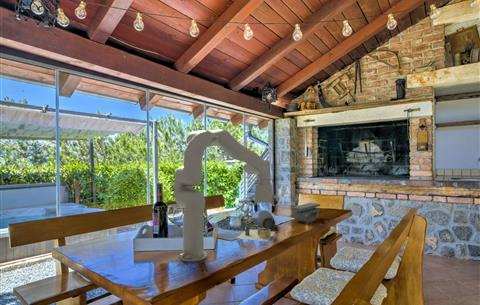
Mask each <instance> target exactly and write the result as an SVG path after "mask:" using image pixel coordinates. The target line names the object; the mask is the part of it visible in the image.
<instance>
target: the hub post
mask: <svg viewBox="0 0 480 305" xmlns="http://www.w3.org/2000/svg"><path fill="white" fill-rule="evenodd" d="M244 231H245V235H247V236H248V235H250V226H249V225H245V227H244Z"/></svg>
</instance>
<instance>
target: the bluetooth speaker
mask: <svg viewBox="0 0 480 305" xmlns="http://www.w3.org/2000/svg"><path fill="white" fill-rule="evenodd" d="M274 218H275V217H274V216H273V215H272V213H270V212H269V211H268V210H261V211H259V212H258V216H257V219H258V221H259V224H260V226H261V228H269V229H271V231H274V229H275V227H276V220H275V219H274Z"/></svg>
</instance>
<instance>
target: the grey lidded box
mask: <svg viewBox="0 0 480 305" xmlns="http://www.w3.org/2000/svg"><path fill="white" fill-rule="evenodd" d="M317 207H321V203H316V202H315V203H314V202H308V203H304V204H300V205H296V206H291V210H293V211H292V216H293V217H294V219H295V220H296V221H297V222H300V223H304V224H308V223H311V222H314V221H316V220H317V218H318V216H319V213H320V208H317Z"/></svg>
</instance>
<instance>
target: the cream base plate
mask: <svg viewBox="0 0 480 305" xmlns="http://www.w3.org/2000/svg"><path fill="white" fill-rule="evenodd" d="M261 228H262V230H266V228H263V227H261ZM275 233H276V231H275V230H271V237H270V238H259V237H258V229H250V235H248V236H247V235H245V230H244V231H243V232H241V234H239V235H238V236H236V239H241V240H242V239H243V240H250V241H251V240H252V241H262V242H269V240H270V239H271V238H272V237H273V236H274V235H275Z"/></svg>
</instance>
